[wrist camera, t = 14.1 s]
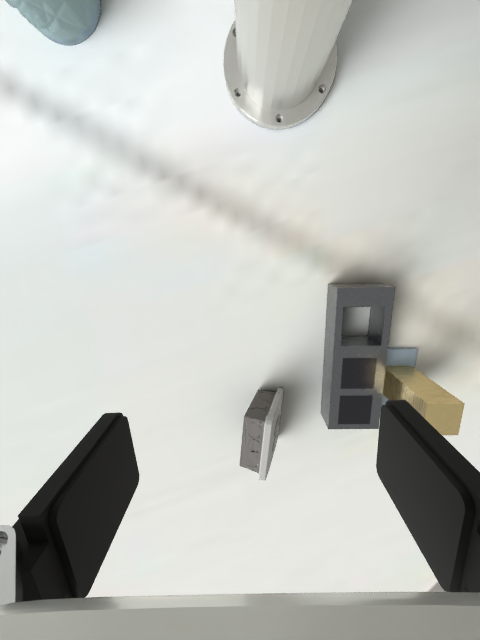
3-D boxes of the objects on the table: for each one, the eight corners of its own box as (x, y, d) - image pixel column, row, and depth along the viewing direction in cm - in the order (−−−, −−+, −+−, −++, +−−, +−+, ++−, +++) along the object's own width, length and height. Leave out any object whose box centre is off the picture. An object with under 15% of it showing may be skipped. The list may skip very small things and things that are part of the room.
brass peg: (382, 366, 40) (427, 403, 30) (410, 365, 39) (464, 403, 30) (380, 390, 41) (422, 435, 31) (407, 390, 40) (458, 435, 31)
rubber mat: (379, 348, 40) (381, 349, 39) (414, 347, 39) (417, 349, 39) (373, 403, 42) (375, 405, 41) (406, 403, 42) (409, 405, 41)
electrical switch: (277, 438, 44) (277, 486, 35) (245, 433, 44) (238, 479, 35) (283, 385, 41) (286, 422, 33) (250, 381, 42) (243, 416, 33)
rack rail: (328, 284, 37) (337, 288, 33) (379, 282, 37) (395, 286, 33) (320, 412, 42) (328, 429, 38) (366, 412, 42) (378, 428, 38)
